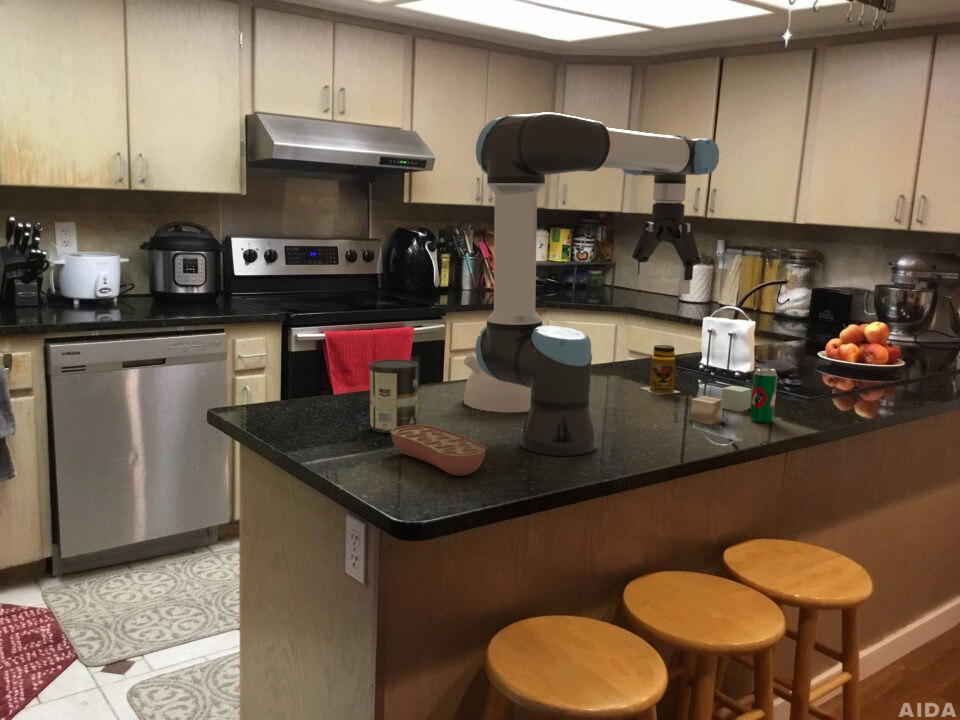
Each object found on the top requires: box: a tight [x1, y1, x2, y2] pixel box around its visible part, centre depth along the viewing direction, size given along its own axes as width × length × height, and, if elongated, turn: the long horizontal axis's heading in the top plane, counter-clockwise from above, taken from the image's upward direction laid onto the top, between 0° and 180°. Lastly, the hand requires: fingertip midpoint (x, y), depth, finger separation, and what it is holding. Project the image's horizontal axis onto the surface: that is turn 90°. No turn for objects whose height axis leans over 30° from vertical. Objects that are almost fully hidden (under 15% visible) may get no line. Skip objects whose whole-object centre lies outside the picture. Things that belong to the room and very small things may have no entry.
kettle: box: [463, 352, 531, 414], centre depth 202 cm, size 20×21×18 cm
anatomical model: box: [390, 424, 486, 477], centre depth 155 cm, size 23×10×5 cm, turn 39°
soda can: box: [749, 367, 778, 424], centre depth 190 cm, size 5×5×12 cm
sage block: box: [721, 385, 752, 413], centre depth 202 cm, size 5×5×5 cm
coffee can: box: [368, 358, 419, 432], centre depth 178 cm, size 10×10×14 cm
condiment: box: [641, 344, 680, 395], centre depth 220 cm, size 7×8×12 cm
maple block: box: [689, 395, 723, 425], centre depth 190 cm, size 5×5×5 cm
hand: (663, 291), depth 204 cm, fingers open, 13 cm apart
